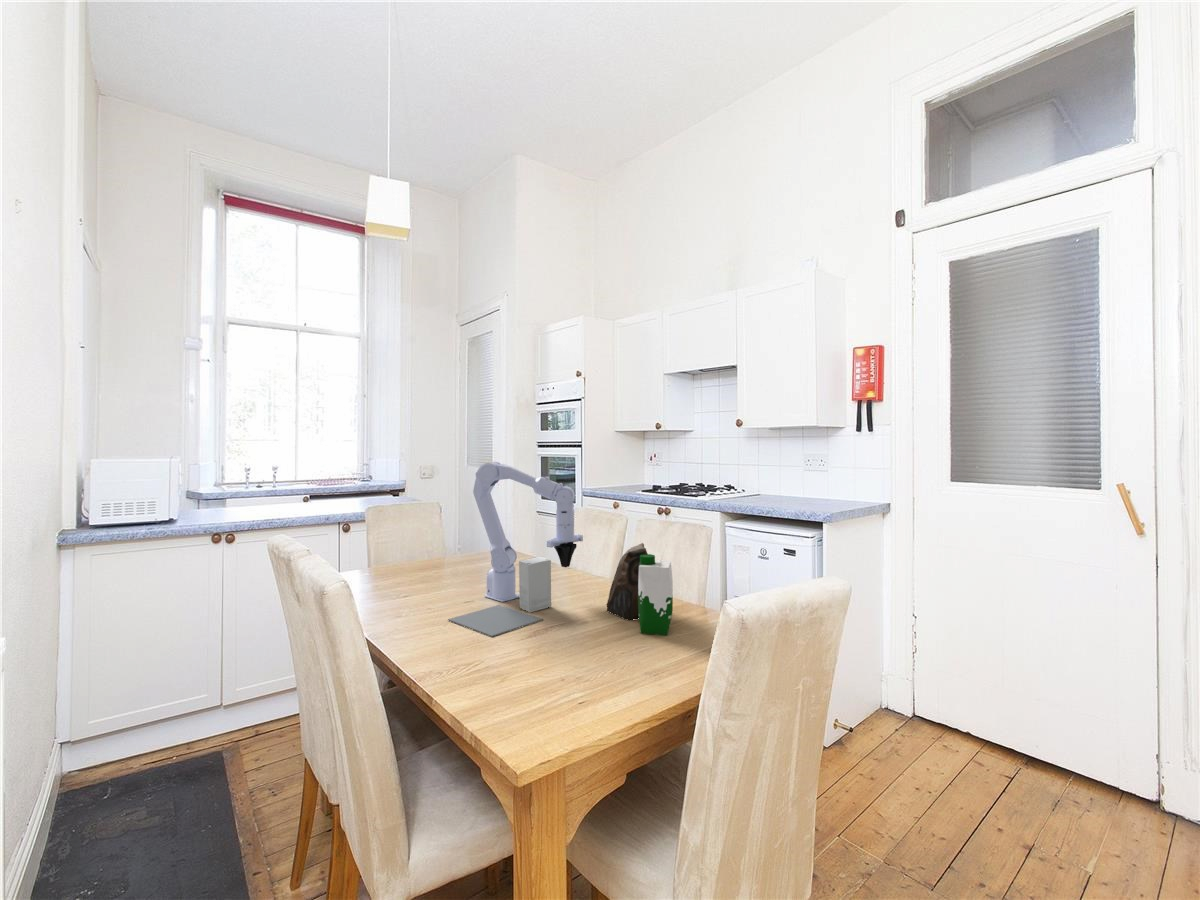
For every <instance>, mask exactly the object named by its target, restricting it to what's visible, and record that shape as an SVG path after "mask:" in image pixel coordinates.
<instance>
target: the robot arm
mask: <svg viewBox="0 0 1200 900" xmlns="http://www.w3.org/2000/svg"><path fill="white" fill-rule="evenodd" d="M502 480H511V481H514V482H517V483H519V484H522V485H525V486H527V487H531V488H532V489H533V491H534V493H535V494H537V495H539V496H542V497H544V498H545V499H548V500H551V501H554V502H555V503H556V518H555V520H556V522H555V524H556V526H555V527H556V529H555V532H556V535H555V537H554V538H552V539H548V540H546V547H547V548H554V550H555V551H556V553H557V555H558V558H559V559H558V560H559V561H560V567H563V568H568V567H570V565H571V561H572V557H573V555H574V552H575V550H576V548H577V546H578V545H577V543H578V542H583V541H584V536H583V535H582V534H575V509H574V508H575V505H574V500H575V498H576V497H575V496H576V494H575V493H576V492H575V491H574V489H573V488H572V487H570V486H569V485H564V483H562V482H560V483H559V482H556V481H553V480H551V479H550V477H549V476H540V477H537V478H536V477H534V476H532V475H530V474H528V473H527V472H524V471H522V470H519V469H518V468H515V467H512V465H511V466H510V465H508V464H504V463H500V462H499V461H492V462H484V463H482V464H481V465H480V466H479V468H478V469H477V471H476V472H475V480H474V484H473V490H472V493H473V497H474V499H475V502H476V504H477V508H478V511H479V515H480V517H481V519H482V523H483V526H484V528H485V529H484V530H485V532H486V534H487V537H488V541H489V543H490V549H489V553H490V555H491V558H490V559H491V561H490V564H491V567H492V568H491V569H490V570H489V571H488V572H487V575H486V594H484V598H487V599H491V600H493V601H494V600H495V601H497V602H502V603H504V602H507V601H511V600H514V599H518V598H520V595H519V593H516V566H515V563H516V561H517V557H518V556H517V552H516V550H515V549H514V548H513V547H512V545H511V543H510V541H509V540H508V539H507V537H506V534H505V533H504V529H503V526H502V523H501V519H500V517H499V514H498V512H497V508H496V505H495V503H494V500H493V498H492V491H493V489H494V488H495V485H496V484H497V483H498V482H500V481H502Z"/></svg>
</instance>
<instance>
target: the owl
mask: <svg viewBox="0 0 1200 900" xmlns="http://www.w3.org/2000/svg"><path fill="white" fill-rule="evenodd" d="M643 554H649V553H648V550H647V548H646V547H645V544H644V543H643V542H642V543H640V544H637V545H635V546H632V547H630V548H629V549H627V550H626V551H625V553H624V554H623V555H622V556H621V558H620V560H619V562H618V564H617V567H616V571H615V574H614V577H613V579H612V582H611V585H610V590H609V594H608V599H607V602H606V610H607V611H609V612H608V613H610V612H611V613H610V614H612V613H613V614H612V615H614V614H616V615H615V616H617V615H618V616H620V617H619V618H622V617H623V618H624V619H623V618H622V619H623V620H625V619H628V620H627V621H630V620H633V619H638V618H639V608H638V580H639V563H640V555H643ZM607 611H606V612H607ZM618 616H617V617H618ZM638 620H639V619H638Z"/></svg>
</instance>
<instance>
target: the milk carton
mask: <svg viewBox="0 0 1200 900" xmlns="http://www.w3.org/2000/svg"><path fill="white" fill-rule="evenodd" d="M673 582H674V581H673V570H672V561H667V560H666V561H665V560H659V559H657V560H656V556H655V555H654V554H650V553H648V554H643V555H640V563H639V580H638V608H639V619H638V623H639V630H640V631H639V633H640V634H641V633H646V634H645V635H653V634H659V635H658V636H668V635H669V631H670V626H671V621H672V618H673V617H672V616H673V611H674V610H673V609H674V608H673V605H674V604H673V603H674V601H673V595H674V594H673V591H674V589H673V586H674V585H673Z"/></svg>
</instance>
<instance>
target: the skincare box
mask: <svg viewBox="0 0 1200 900" xmlns="http://www.w3.org/2000/svg"><path fill="white" fill-rule="evenodd" d="M551 570H552V560H550V559H549V558H545V557H543V556H537V557H533V558H529V559H522V560H519V561H518V583H519V584H518V586H519V588H518V591H519V593H518V594H519V595H520V597H519V608H520V609H521V608H522V609H521V610H523V609H524V610H523V611H525V610H526V611H525V612H527V611H528V613H529V612H530V613H533V612H536V611H541V610H544V609H548V607H549V608H552V571H551Z"/></svg>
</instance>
